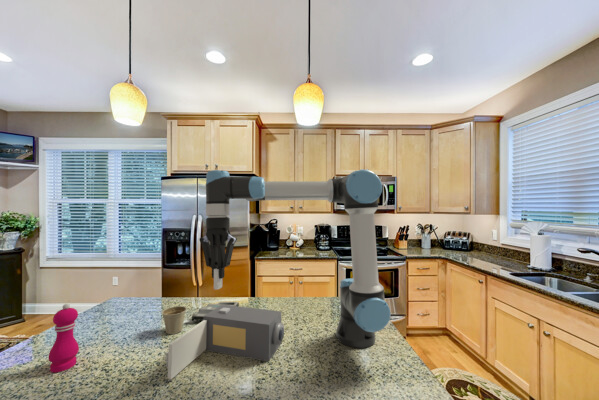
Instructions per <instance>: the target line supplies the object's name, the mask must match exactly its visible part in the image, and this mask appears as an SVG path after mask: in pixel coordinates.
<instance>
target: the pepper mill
mask: <svg viewBox="0 0 599 400" xmlns="http://www.w3.org/2000/svg"><path fill="white" fill-rule="evenodd" d="M78 317H79V312H78V310H77V309H76V308H74V307H71V305H70V304H69V303H65V304H63V305H62V309H60V310H58V311H57V312H55V314H54V315H53V318H52V322H53V324H54V325H55V326H54V332H56V336H55V337H56V338H55V341H54V343H53V345H52V347H51V349H50V351H49V352H48V353H49V354H48V357H47V358H48V361H50V365H49V372H50V373H56V374H57V373H61V372H63V371H67V370H70V369H72V368H73V367H74V366H75V365H76V364H77V354H78V353H79V352H80V351H79V350H80V348H79V347H80V345H79V343H78V342H77V340H76V338H75V336H74V329H75V328H76V327H77V326H76V323H77V322H76V320H77V319H78Z"/></svg>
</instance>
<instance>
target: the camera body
mask: <svg viewBox="0 0 599 400" xmlns="http://www.w3.org/2000/svg"><path fill="white" fill-rule="evenodd" d="M203 320H207V332H206V350H205V351H207V352H213V353H219V354H224V355H225V354H226V355H230V356H236V357H240V358H241V357H243V358H249V359H252V360H253V359H254V360H259V361H265V362H270V361H271V359H272V358H273V356H274V355H275V353H277V351H278V349H279V348H280V346H281V345H282V342H283V340H284V337H285V325H284V323H283V322H282V311H281V310H272V309H264V308H263V309H262V308H255V307H247V306H246V307H245V306H240V305H239V306H230V305H221V306H219V307H217V308H216V309H214V310H213V311H211V312H209V313H208V314H206V315H204V316H203ZM203 320H202V321H203Z"/></svg>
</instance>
